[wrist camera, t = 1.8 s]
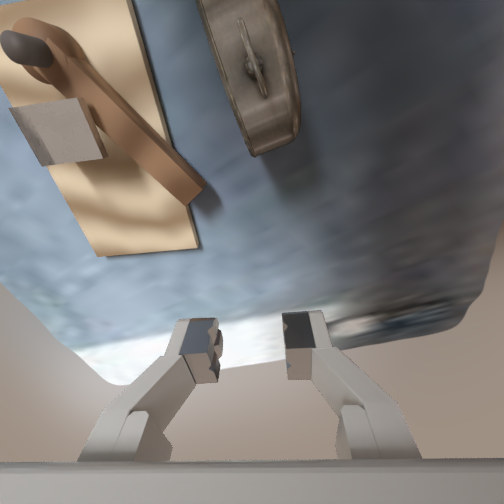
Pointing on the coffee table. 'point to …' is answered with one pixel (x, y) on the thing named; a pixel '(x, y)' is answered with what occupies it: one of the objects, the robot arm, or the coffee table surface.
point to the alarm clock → (255, 69)
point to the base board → (118, 161)
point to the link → (98, 101)
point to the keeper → (60, 131)
